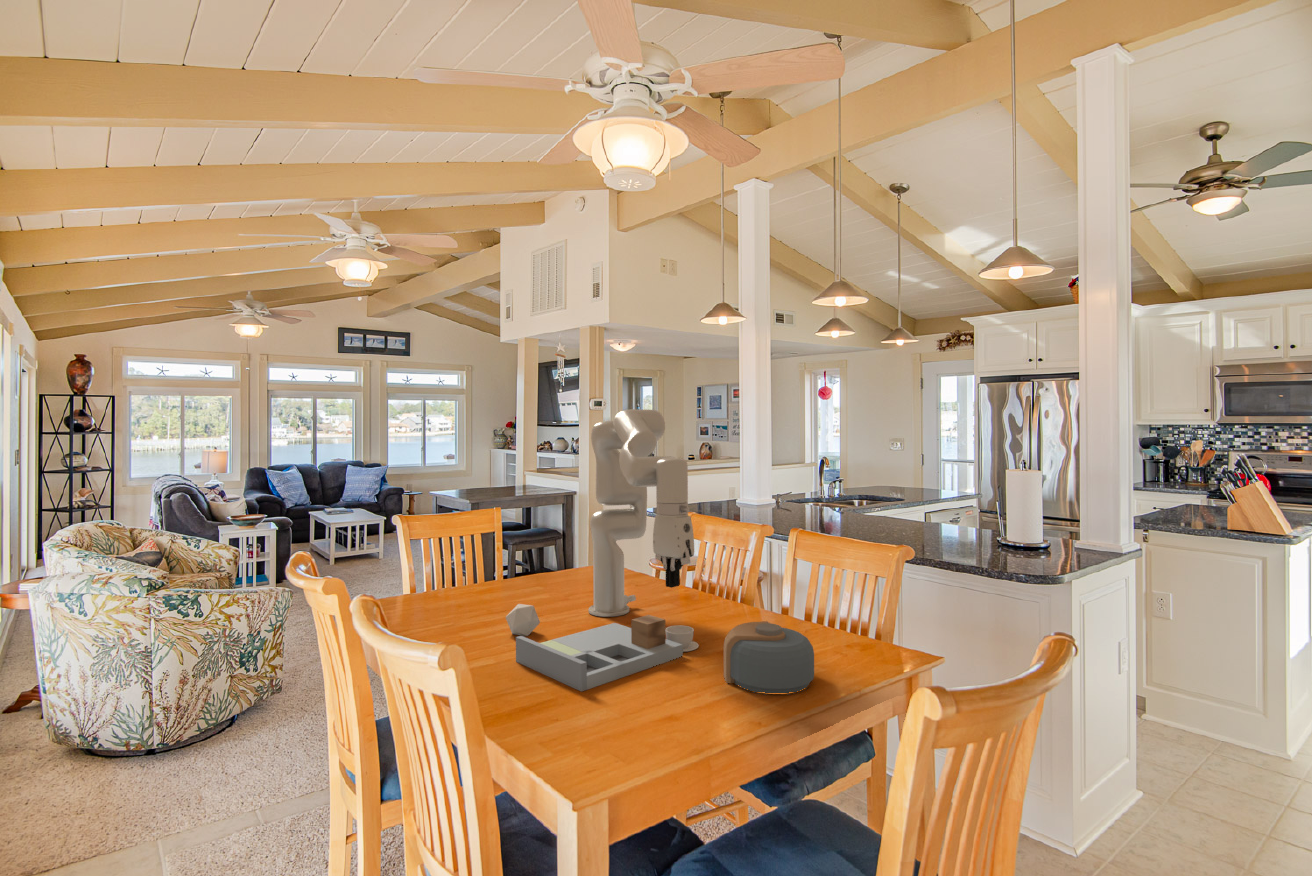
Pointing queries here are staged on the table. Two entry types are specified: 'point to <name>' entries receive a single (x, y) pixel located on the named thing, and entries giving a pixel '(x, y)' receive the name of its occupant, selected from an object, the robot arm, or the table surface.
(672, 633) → the teacup
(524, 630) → the die
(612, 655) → the board
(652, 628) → the walnut block
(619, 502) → the robot arm
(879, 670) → the table surface
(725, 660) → the grey knobbed dome
